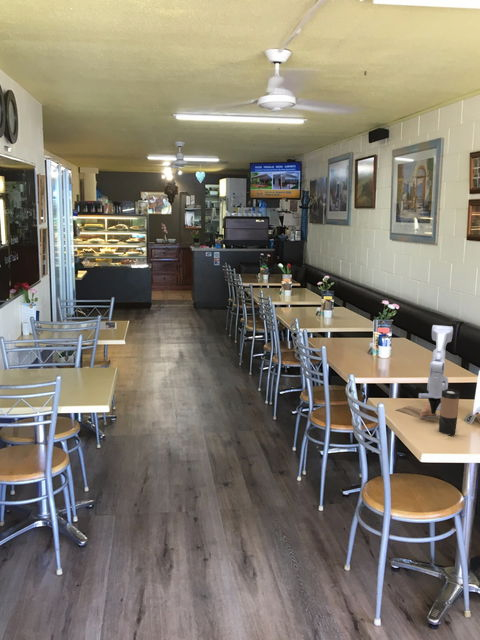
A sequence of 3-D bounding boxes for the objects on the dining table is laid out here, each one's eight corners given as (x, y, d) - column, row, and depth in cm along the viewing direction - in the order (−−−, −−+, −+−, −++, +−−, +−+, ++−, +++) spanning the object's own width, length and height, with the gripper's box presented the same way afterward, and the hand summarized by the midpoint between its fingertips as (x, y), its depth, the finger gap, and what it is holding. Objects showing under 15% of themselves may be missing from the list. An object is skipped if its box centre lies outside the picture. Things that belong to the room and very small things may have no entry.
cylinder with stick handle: (427, 414, 304) (428, 401, 303) (436, 416, 300) (438, 404, 299) (415, 417, 298) (416, 405, 297) (425, 420, 294) (426, 407, 293)
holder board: (408, 407, 317) (408, 403, 316) (446, 419, 300) (447, 415, 300) (394, 412, 309) (394, 407, 309) (433, 424, 292) (433, 419, 292)
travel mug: (456, 437, 276) (460, 394, 272) (439, 435, 277) (442, 393, 274) (454, 431, 283) (458, 389, 280) (437, 429, 285) (440, 388, 281)
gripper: (421, 387, 287) (419, 415, 290) (453, 388, 286) (450, 416, 288) (418, 383, 294) (416, 410, 297) (449, 384, 293) (447, 412, 295)
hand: (433, 413), depth 293 cm, fingers closed
